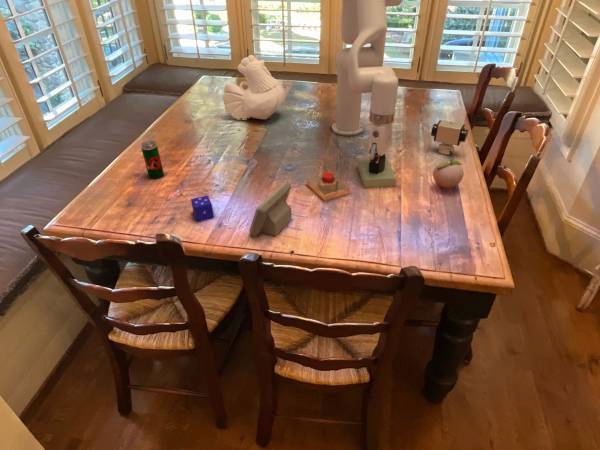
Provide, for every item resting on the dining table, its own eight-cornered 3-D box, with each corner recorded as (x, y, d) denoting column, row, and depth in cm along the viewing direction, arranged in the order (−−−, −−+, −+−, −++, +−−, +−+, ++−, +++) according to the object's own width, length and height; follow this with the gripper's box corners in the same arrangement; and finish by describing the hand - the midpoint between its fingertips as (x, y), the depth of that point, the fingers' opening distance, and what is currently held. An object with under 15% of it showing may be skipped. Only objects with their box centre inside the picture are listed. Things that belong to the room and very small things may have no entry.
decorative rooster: (295, 98, 187) (261, 47, 181) (286, 105, 173) (248, 50, 167) (252, 129, 197) (219, 82, 192) (240, 138, 184) (203, 87, 178)
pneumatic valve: (460, 158, 155) (467, 127, 148) (427, 151, 159) (433, 121, 152) (463, 152, 159) (470, 121, 151) (431, 145, 163) (437, 115, 156)
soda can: (166, 173, 150) (159, 141, 143) (158, 180, 146) (150, 148, 139) (154, 171, 151) (146, 139, 144) (145, 178, 148) (137, 146, 140)
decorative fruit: (443, 198, 135) (449, 169, 129) (426, 185, 141) (431, 158, 135) (466, 190, 138) (473, 162, 132) (448, 178, 144) (454, 151, 138)
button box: (307, 185, 142) (307, 174, 140) (330, 178, 145) (331, 167, 143) (324, 201, 134) (324, 190, 132) (348, 193, 138) (349, 182, 135)
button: (320, 178, 138) (320, 173, 137) (329, 175, 140) (330, 171, 139) (326, 183, 136) (326, 178, 135) (335, 180, 137) (336, 176, 136)
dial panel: (357, 167, 151) (358, 159, 149) (386, 166, 151) (387, 158, 149) (364, 187, 140) (365, 179, 138) (395, 186, 141) (396, 177, 139)
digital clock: (279, 206, 132) (278, 176, 126) (302, 217, 128) (302, 186, 121) (241, 231, 123) (237, 200, 116) (264, 244, 118) (261, 212, 111)
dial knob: (382, 164, 146) (384, 151, 143) (386, 172, 142) (387, 159, 139) (367, 165, 146) (368, 152, 143) (370, 173, 142) (371, 160, 139)
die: (197, 221, 127) (194, 207, 124) (193, 212, 131) (190, 198, 128) (214, 217, 128) (211, 203, 125) (209, 208, 132) (207, 195, 129)
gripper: (385, 129, 126) (379, 183, 136) (401, 108, 138) (395, 159, 149) (360, 124, 128) (356, 178, 139) (378, 104, 140) (374, 155, 151)
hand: (376, 168), depth 144 cm, fingers closed on dial knob, 5 cm apart
